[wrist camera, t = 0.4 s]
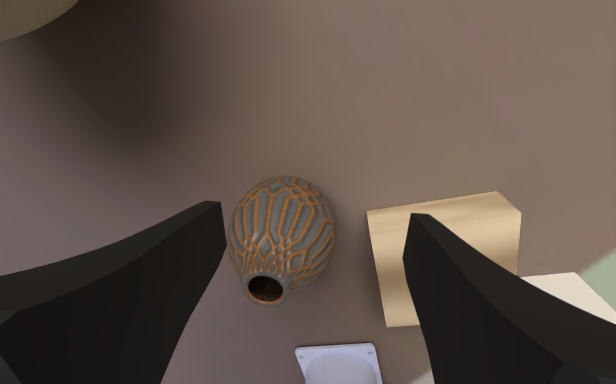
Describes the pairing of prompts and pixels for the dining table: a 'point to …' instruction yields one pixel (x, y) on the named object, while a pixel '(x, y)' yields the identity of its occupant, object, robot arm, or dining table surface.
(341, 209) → the dining table surface
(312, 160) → the dining table surface
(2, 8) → the planter bowl
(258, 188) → the vase
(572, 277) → the framed cream cube
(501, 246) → the block
